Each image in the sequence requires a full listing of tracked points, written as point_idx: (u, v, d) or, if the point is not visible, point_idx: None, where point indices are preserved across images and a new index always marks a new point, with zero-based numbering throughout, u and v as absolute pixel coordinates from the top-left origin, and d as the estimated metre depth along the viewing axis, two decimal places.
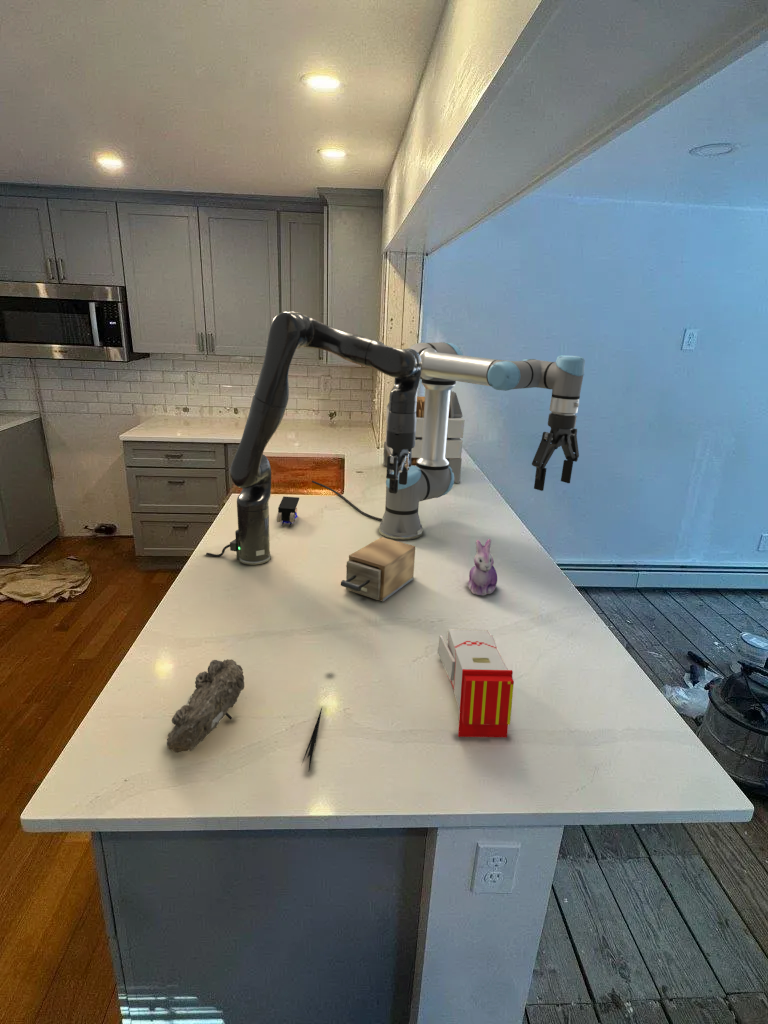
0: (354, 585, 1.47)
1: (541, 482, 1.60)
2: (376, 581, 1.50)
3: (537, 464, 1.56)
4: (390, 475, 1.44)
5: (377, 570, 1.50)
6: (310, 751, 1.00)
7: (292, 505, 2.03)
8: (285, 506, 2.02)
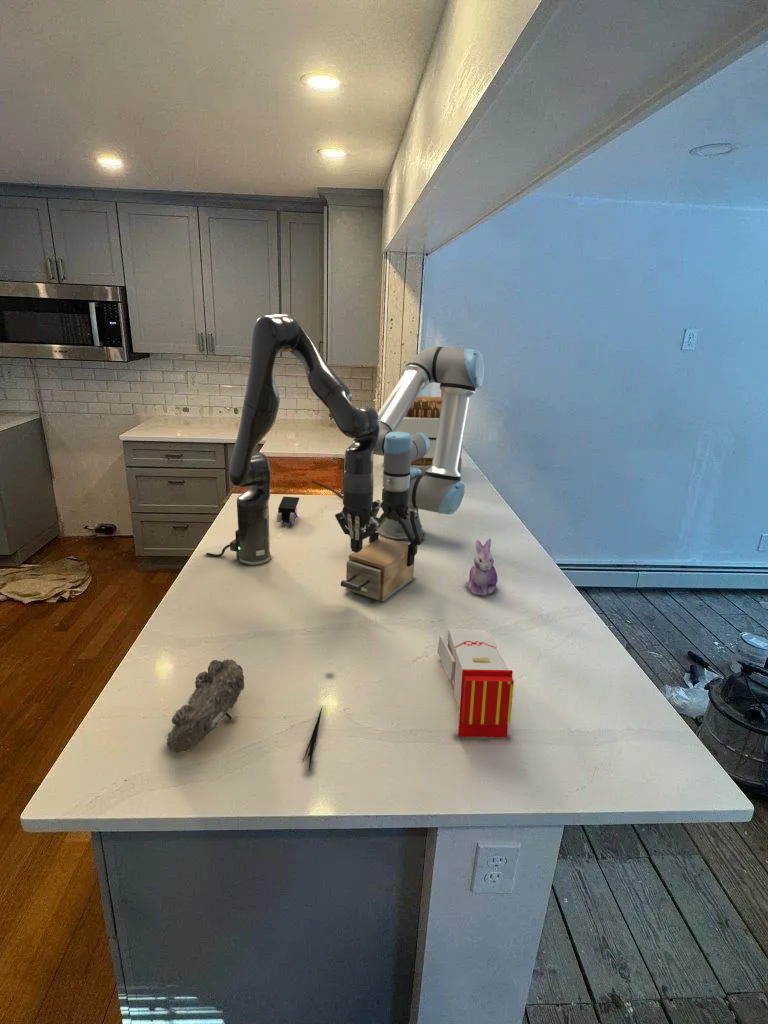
0: (354, 585, 1.47)
1: None
2: (376, 581, 1.50)
3: None
4: None
5: (377, 570, 1.50)
6: (310, 751, 1.00)
7: (292, 505, 2.03)
8: (285, 506, 2.02)
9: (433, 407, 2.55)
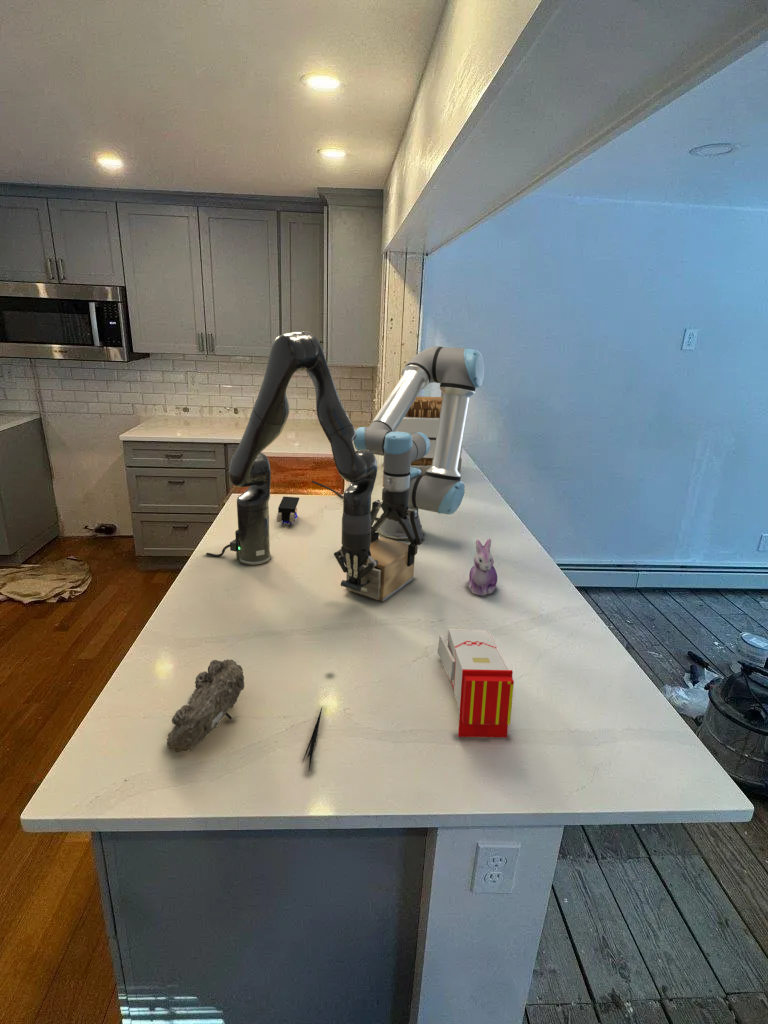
0: (354, 585, 1.47)
1: None
2: (376, 581, 1.50)
3: None
4: None
5: (377, 570, 1.50)
6: (310, 751, 1.00)
7: (292, 505, 2.03)
8: (285, 506, 2.02)
9: (433, 407, 2.55)
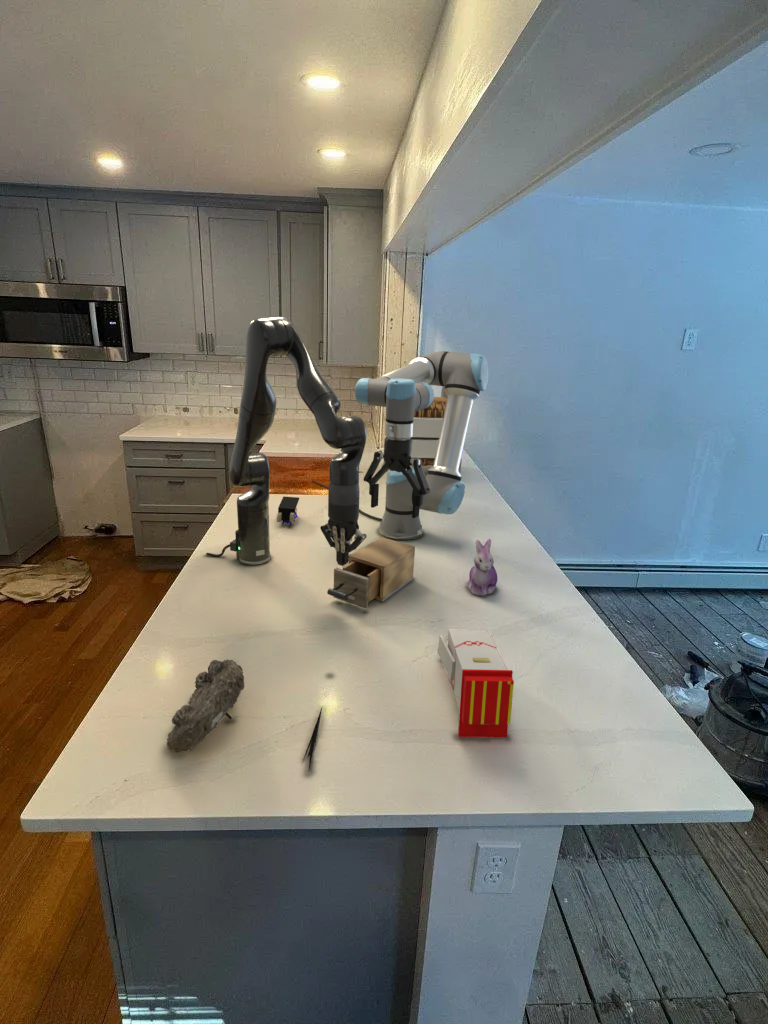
0: (341, 594, 1.43)
1: None
2: (364, 589, 1.46)
3: None
4: None
5: (365, 578, 1.45)
6: (310, 751, 1.00)
7: (292, 505, 2.03)
8: (285, 506, 2.02)
9: (433, 407, 2.55)
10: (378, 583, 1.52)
